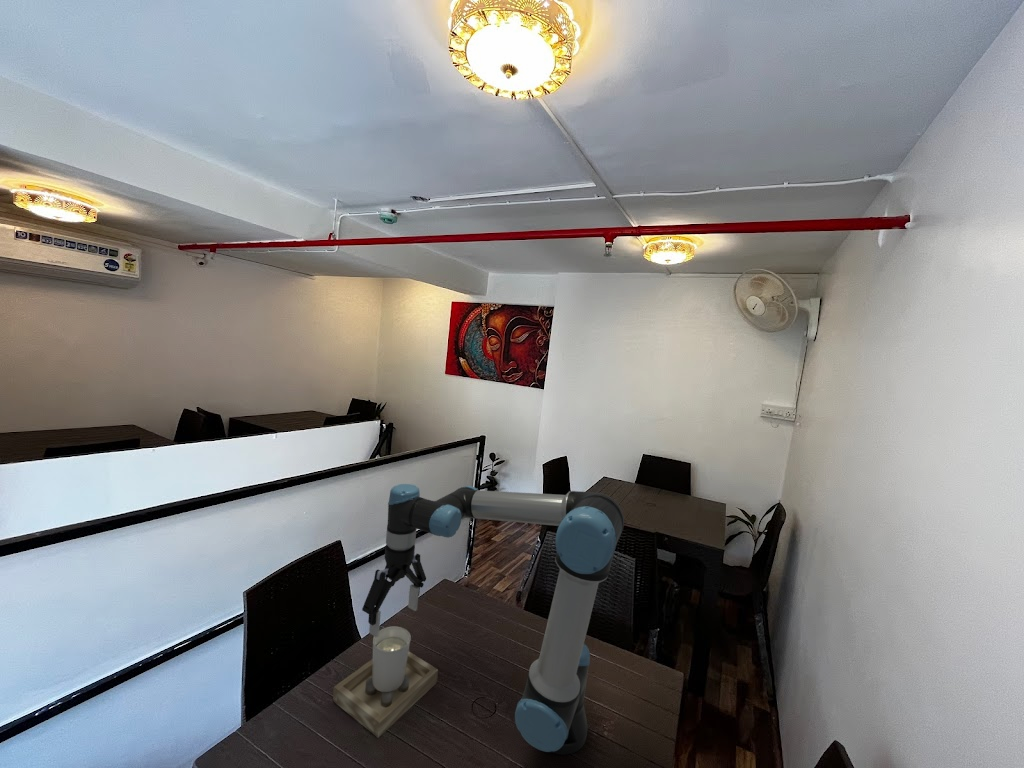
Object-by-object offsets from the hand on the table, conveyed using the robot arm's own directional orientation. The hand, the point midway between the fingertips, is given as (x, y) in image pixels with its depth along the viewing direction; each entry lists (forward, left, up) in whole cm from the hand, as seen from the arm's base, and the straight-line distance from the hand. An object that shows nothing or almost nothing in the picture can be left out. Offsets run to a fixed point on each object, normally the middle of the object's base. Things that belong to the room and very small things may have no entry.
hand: (394, 621), depth 112 cm
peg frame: (0, 0, -20) cm, 20 cm away
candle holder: (0, 0, -17) cm, 17 cm away
